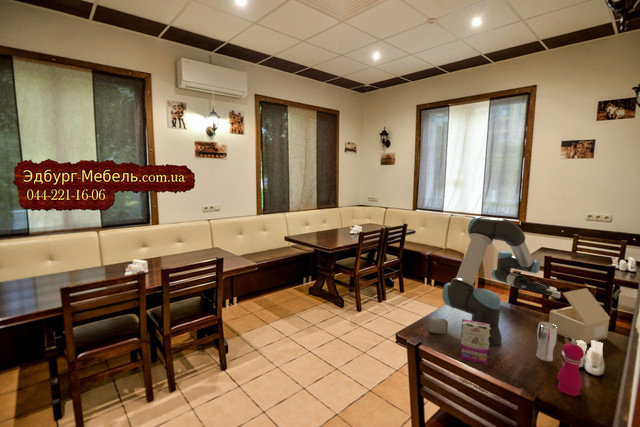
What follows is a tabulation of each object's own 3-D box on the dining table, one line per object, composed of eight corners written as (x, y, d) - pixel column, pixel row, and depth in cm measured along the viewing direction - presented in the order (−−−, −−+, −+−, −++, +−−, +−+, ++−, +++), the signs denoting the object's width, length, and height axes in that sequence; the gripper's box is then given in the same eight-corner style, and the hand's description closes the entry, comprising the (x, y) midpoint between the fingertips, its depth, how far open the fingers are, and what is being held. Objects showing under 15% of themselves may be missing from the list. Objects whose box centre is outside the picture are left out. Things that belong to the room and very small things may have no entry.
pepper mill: (560, 394, 113) (566, 343, 111) (553, 382, 120) (558, 333, 117) (584, 400, 111) (591, 347, 108) (576, 387, 118) (582, 337, 115)
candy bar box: (487, 359, 135) (490, 323, 133) (488, 365, 130) (491, 328, 128) (459, 352, 140) (462, 318, 138) (459, 358, 135) (461, 323, 133)
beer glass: (555, 364, 132) (558, 330, 130) (535, 358, 135) (538, 326, 133) (553, 356, 137) (557, 324, 135) (534, 351, 141) (537, 320, 139)
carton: (583, 345, 146) (586, 325, 145) (548, 329, 161) (550, 311, 160) (607, 338, 152) (609, 319, 151) (570, 323, 167) (572, 305, 166)
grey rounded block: (447, 337, 152) (448, 322, 152) (429, 334, 155) (430, 320, 154) (446, 327, 163) (446, 313, 162) (429, 325, 165) (430, 311, 164)
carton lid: (586, 325, 145) (587, 324, 144) (562, 293, 154) (563, 292, 153) (609, 319, 151) (610, 318, 150) (585, 288, 160) (586, 288, 159)
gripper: (524, 285, 189) (566, 300, 167) (509, 288, 185) (550, 304, 163) (525, 273, 188) (568, 287, 166) (510, 276, 184) (552, 290, 162)
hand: (559, 295), depth 165 cm, fingers closed
